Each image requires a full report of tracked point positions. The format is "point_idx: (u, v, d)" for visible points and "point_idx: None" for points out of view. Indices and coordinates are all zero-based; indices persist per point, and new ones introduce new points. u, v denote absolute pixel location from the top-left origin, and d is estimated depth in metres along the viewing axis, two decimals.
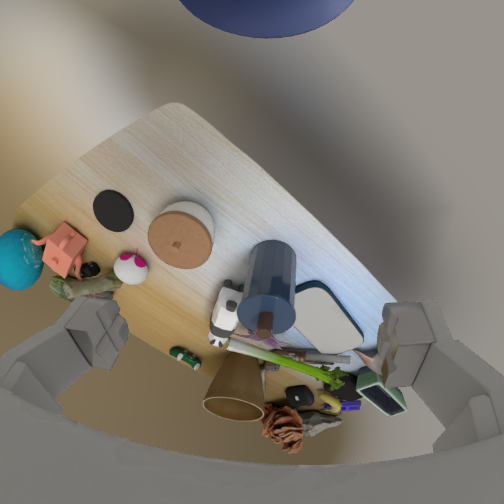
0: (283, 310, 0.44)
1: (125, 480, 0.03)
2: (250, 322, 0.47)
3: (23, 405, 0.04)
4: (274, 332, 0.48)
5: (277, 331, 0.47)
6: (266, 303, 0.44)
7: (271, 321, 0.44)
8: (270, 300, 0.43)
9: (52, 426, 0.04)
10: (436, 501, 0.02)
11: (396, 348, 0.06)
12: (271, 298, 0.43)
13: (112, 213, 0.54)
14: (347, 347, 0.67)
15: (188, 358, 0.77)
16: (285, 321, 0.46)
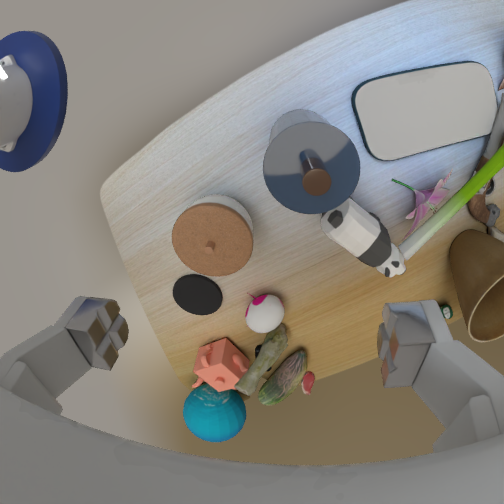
0: (303, 138, 0.25)
1: (125, 480, 0.03)
2: (322, 198, 0.28)
3: (23, 405, 0.04)
4: (356, 169, 0.26)
5: (354, 163, 0.26)
6: (282, 160, 0.27)
7: (309, 162, 0.25)
8: (276, 152, 0.26)
9: (51, 426, 0.04)
10: (436, 501, 0.02)
11: (396, 348, 0.06)
12: (272, 150, 0.26)
13: (197, 296, 0.54)
14: (488, 91, 0.28)
15: None
16: (332, 143, 0.25)
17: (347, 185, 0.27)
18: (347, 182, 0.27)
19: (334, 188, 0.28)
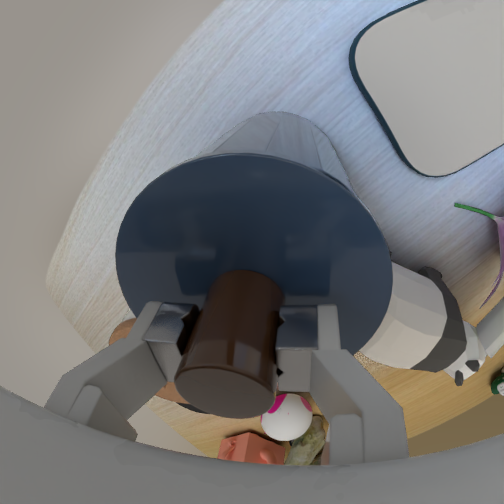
0: (187, 223, 0.08)
1: (125, 480, 0.03)
2: None
3: (23, 405, 0.04)
4: (379, 273, 0.08)
5: (372, 258, 0.08)
6: (160, 290, 0.10)
7: (207, 309, 0.08)
8: (138, 274, 0.10)
9: (51, 426, 0.04)
10: (436, 501, 0.02)
11: None
12: (126, 269, 0.09)
13: None
14: None
15: None
16: (280, 213, 0.08)
17: (359, 319, 0.09)
18: (358, 311, 0.09)
19: None
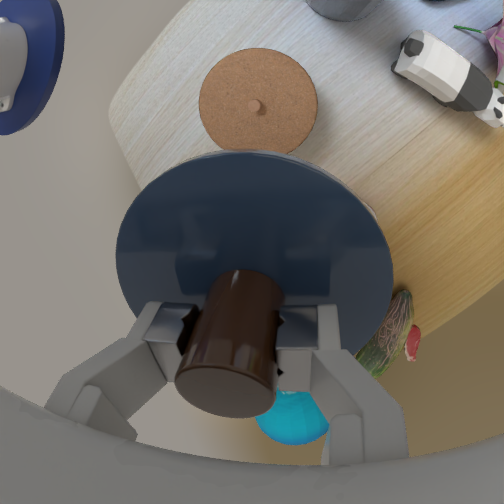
0: (187, 222, 0.08)
1: (125, 480, 0.03)
2: None
3: (23, 405, 0.04)
4: (380, 272, 0.08)
5: (373, 258, 0.08)
6: (160, 289, 0.10)
7: (207, 308, 0.08)
8: (138, 273, 0.09)
9: (52, 426, 0.04)
10: (436, 501, 0.02)
11: (276, 351, 0.07)
12: (126, 269, 0.09)
13: None
14: None
15: None
16: (280, 212, 0.08)
17: (360, 318, 0.09)
18: (359, 311, 0.09)
19: None
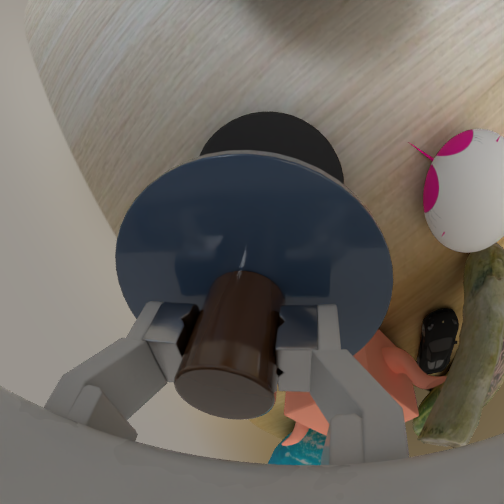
0: (187, 223, 0.08)
1: (125, 480, 0.03)
2: None
3: (23, 405, 0.04)
4: (379, 273, 0.08)
5: (373, 259, 0.08)
6: (160, 290, 0.10)
7: (207, 310, 0.08)
8: (138, 274, 0.10)
9: (52, 426, 0.04)
10: (436, 501, 0.02)
11: (276, 351, 0.07)
12: (126, 270, 0.09)
13: None
14: None
15: None
16: (280, 214, 0.08)
17: (359, 320, 0.09)
18: (358, 312, 0.09)
19: None
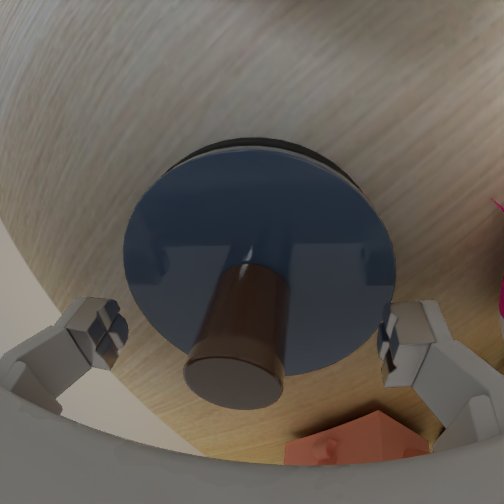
0: (195, 217, 0.08)
1: (125, 480, 0.03)
2: (301, 348, 0.11)
3: (23, 405, 0.04)
4: (383, 266, 0.08)
5: (376, 252, 0.08)
6: (167, 284, 0.10)
7: (215, 301, 0.08)
8: (145, 269, 0.10)
9: (52, 426, 0.04)
10: (436, 501, 0.02)
11: (396, 348, 0.06)
12: (134, 264, 0.10)
13: None
14: None
15: None
16: (286, 208, 0.08)
17: (363, 312, 0.09)
18: (362, 305, 0.09)
19: (328, 324, 0.10)
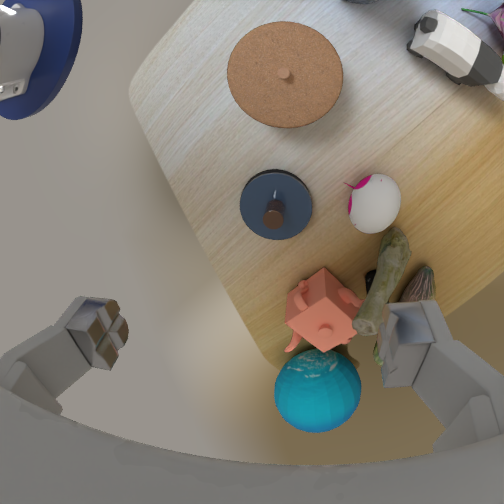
0: (262, 188, 0.37)
1: (125, 480, 0.03)
2: (289, 226, 0.39)
3: (23, 405, 0.04)
4: (307, 199, 0.36)
5: (305, 196, 0.36)
6: (252, 206, 0.38)
7: (268, 205, 0.36)
8: (247, 202, 0.38)
9: (51, 426, 0.04)
10: (436, 501, 0.02)
11: (396, 348, 0.06)
12: (243, 201, 0.38)
13: None
14: None
15: None
16: (283, 185, 0.36)
17: (304, 213, 0.37)
18: (304, 211, 0.37)
19: (295, 217, 0.38)
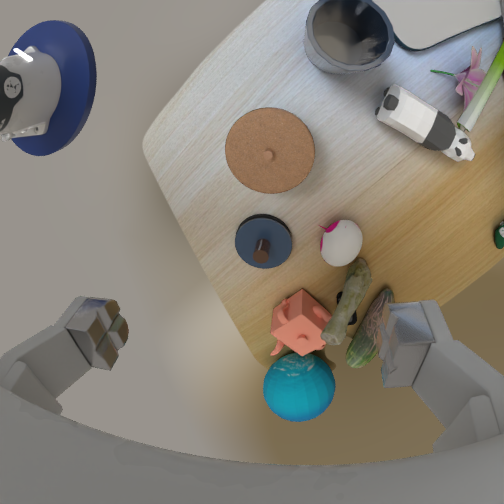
0: (253, 230, 0.47)
1: (125, 480, 0.03)
2: (273, 258, 0.49)
3: (23, 405, 0.04)
4: (288, 239, 0.47)
5: (286, 236, 0.47)
6: (245, 243, 0.49)
7: (257, 244, 0.47)
8: (240, 240, 0.48)
9: (52, 426, 0.04)
10: (436, 501, 0.02)
11: (396, 348, 0.06)
12: (238, 239, 0.48)
13: None
14: None
15: None
16: (269, 228, 0.47)
17: (286, 249, 0.48)
18: (285, 247, 0.48)
19: (279, 252, 0.49)
